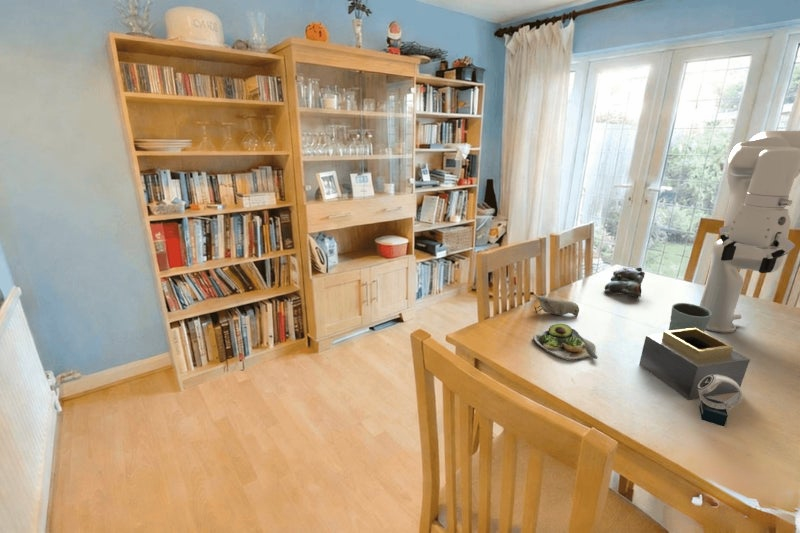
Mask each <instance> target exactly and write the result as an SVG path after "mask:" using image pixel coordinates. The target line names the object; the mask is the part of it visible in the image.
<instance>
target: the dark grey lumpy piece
mask: <svg viewBox="0 0 800 533" xmlns="http://www.w3.org/2000/svg"><path fill="white" fill-rule="evenodd" d="M645 274H646V272H645V271H643V269H642V267H637V268H634V267H630V266H629V267H623V268H621V269H619V270H614V271H613V274H612V276H611V278H610V282H607V284H605V285H604V290H603V292H604V293H605V294H608V293H611V294H621V295H626V296H632V297H634V298H641V297H642V288H641V286H642V283H643V280H644V278H645Z"/></svg>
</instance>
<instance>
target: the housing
mask: <svg viewBox="0 0 800 533" xmlns="http://www.w3.org/2000/svg"><path fill="white" fill-rule="evenodd" d="M750 360H751V359H750V358H748V357H746V356H744V355H742V354H741V353H739V352H737V351H735V350H734V346H733V345H730V344H728V343H727V342H725V341H723V340H720V339H719V338H717V337H715V336H713V335H711V334H709V333H707V332H705V331H704V332H703V331H701V330H699V329H697V328H688V329H680V330H672V331H668V330H665V331H663V332H662V333H652V334H646V335H645V339H644V343H643V347H642V351H641V356H640V359H639V363H638V364H639V366H640V367H641V368H643V369H644V370H645V371H646V372H648V373H649V374H650V375H653V376H654V377H655V378H656V379H658V380H659V381H661V382H662V383H663V384H665V385H666V386H668V387H669V388H670V389H672V390H673V391H675V392H676V393H677V394H679V395H680V396H682V397H683V398H685V399H686V400H687V401H691V400H692V401H693V400H697V399H700V397H699V392H698V389H697V385H698V383H699V381H700V380H701V379H702V378H704V377H705V376H707V375H710V374H712V375H722V376H726V377H729V378H731V379H733V380H734V381H735V382H736V383H737V384H738V385H739V387H740V388H741V386H742V383H743V381H744V378H745V375H746V371H747V369H748V366H749V364H750ZM721 382H722V381H721ZM737 392H739V390H738V389H737V388H736V387H735V386H734V385H732V384H730V383H727V382H722V383H721V384H718V385H717V387H716V388H715V389H714V390H713V391H711V392H709V393H704V394H703V395H702V396H703V397H706V398H709V397H710V398H711V397H716V396H721V395H729V394H734V393H735V394H736V393H737Z"/></svg>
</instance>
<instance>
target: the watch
mask: <svg viewBox="0 0 800 533" xmlns="http://www.w3.org/2000/svg"><path fill="white" fill-rule="evenodd" d="M721 381H722V382H727V383H730V384H732V385H734V386H735V387H736V388H737V389H738V390H739V392H736V393H735V394H734V395H733V396H732V397H730V398H729V399H727V400H725V401H720V400H717V399H713V398H711V397H710V398H709V397H703V396H702V395H703V394H704V393H709V392H711V391H713V390H714V389H715V388H716V387H717V385H718V384H721V383H722V382H721ZM697 389H698V392H699V397H700V398H699V399H700V403H699V405H698V408H699V415H700V420H701V421H704V422H707V423H711V424H713V425H716V426H719V427H722V428H725V426H726V424H727V421H728V418H729V414H728V410H730V409H732V408H734V407H735V406H738V405H739V403H741V402H742V401H743V400H742V398H743V393H742V389H741V387H739V385H738V384H737V383H736V382H735V381H734V380H733V379H731V378H729V377H726V376H722V375H712V374H710V375H707V376H705V377H704V378H702V379H701V380H700V381H699V383H698V385H697Z"/></svg>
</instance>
